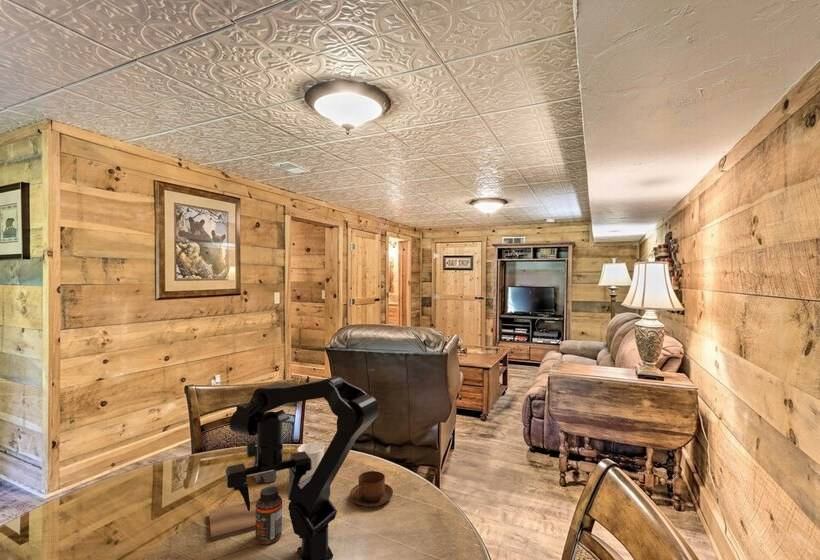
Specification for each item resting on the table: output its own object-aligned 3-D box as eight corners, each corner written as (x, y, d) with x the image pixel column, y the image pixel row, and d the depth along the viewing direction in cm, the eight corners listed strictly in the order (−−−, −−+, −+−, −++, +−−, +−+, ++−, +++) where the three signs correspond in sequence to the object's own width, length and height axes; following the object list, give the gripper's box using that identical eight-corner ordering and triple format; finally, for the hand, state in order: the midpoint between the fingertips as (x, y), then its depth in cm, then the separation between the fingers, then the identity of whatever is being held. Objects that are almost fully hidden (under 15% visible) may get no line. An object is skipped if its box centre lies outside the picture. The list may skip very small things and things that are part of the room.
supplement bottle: (249, 541, 94) (250, 492, 94) (269, 527, 99) (269, 481, 99) (268, 549, 91) (268, 498, 91) (287, 534, 97) (287, 487, 97)
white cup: (317, 488, 118) (317, 454, 119) (292, 485, 120) (292, 452, 120) (327, 476, 126) (328, 444, 126) (304, 473, 128) (304, 442, 128)
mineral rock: (261, 464, 135) (262, 433, 135) (292, 466, 133) (292, 436, 133) (239, 482, 122) (240, 449, 122) (273, 485, 120) (273, 451, 120)
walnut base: (265, 526, 100) (265, 522, 100) (211, 541, 94) (211, 536, 94) (258, 503, 110) (258, 499, 110) (209, 515, 104) (209, 511, 104)
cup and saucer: (382, 514, 106) (383, 490, 106) (342, 506, 109) (342, 483, 109) (399, 492, 117) (399, 471, 117) (361, 485, 121) (361, 464, 121)
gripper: (301, 422, 107) (301, 481, 107) (223, 434, 98) (223, 499, 98) (312, 435, 97) (312, 500, 97) (227, 450, 88) (227, 522, 88)
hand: (269, 504), depth 95 cm, fingers open, 9 cm apart
